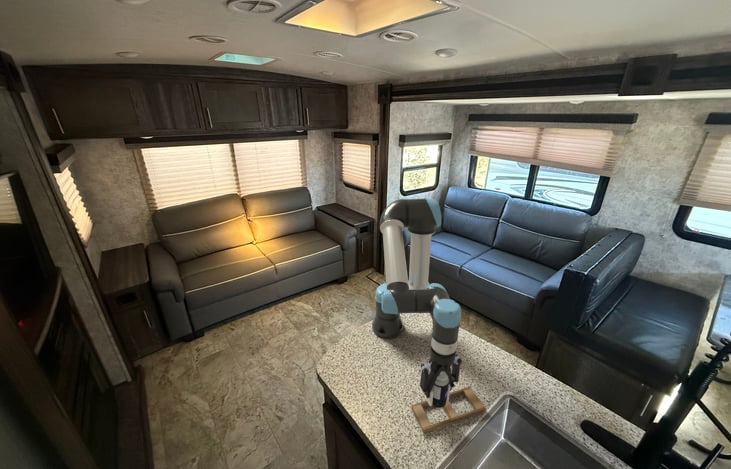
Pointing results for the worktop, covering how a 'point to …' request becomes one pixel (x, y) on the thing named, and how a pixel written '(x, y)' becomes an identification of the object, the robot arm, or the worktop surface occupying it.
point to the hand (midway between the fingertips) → (437, 399)
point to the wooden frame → (448, 411)
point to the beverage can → (440, 390)
